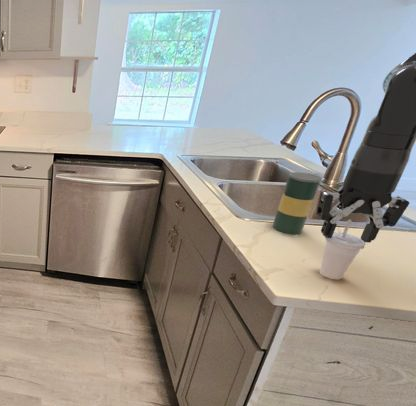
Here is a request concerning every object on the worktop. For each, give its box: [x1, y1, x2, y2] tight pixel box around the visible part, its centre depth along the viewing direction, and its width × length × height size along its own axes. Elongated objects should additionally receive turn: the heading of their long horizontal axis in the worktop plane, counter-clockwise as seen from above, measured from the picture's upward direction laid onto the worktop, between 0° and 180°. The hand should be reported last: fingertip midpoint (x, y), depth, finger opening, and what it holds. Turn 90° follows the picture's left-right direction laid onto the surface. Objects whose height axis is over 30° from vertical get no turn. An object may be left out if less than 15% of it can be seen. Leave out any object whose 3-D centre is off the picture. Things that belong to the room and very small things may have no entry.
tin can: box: [272, 171, 322, 235], centre depth 102 cm, size 7×7×16 cm
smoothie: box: [319, 218, 366, 281], centre depth 82 cm, size 6×6×14 cm
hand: (345, 238), depth 81 cm, fingers closed on smoothie, 6 cm apart
